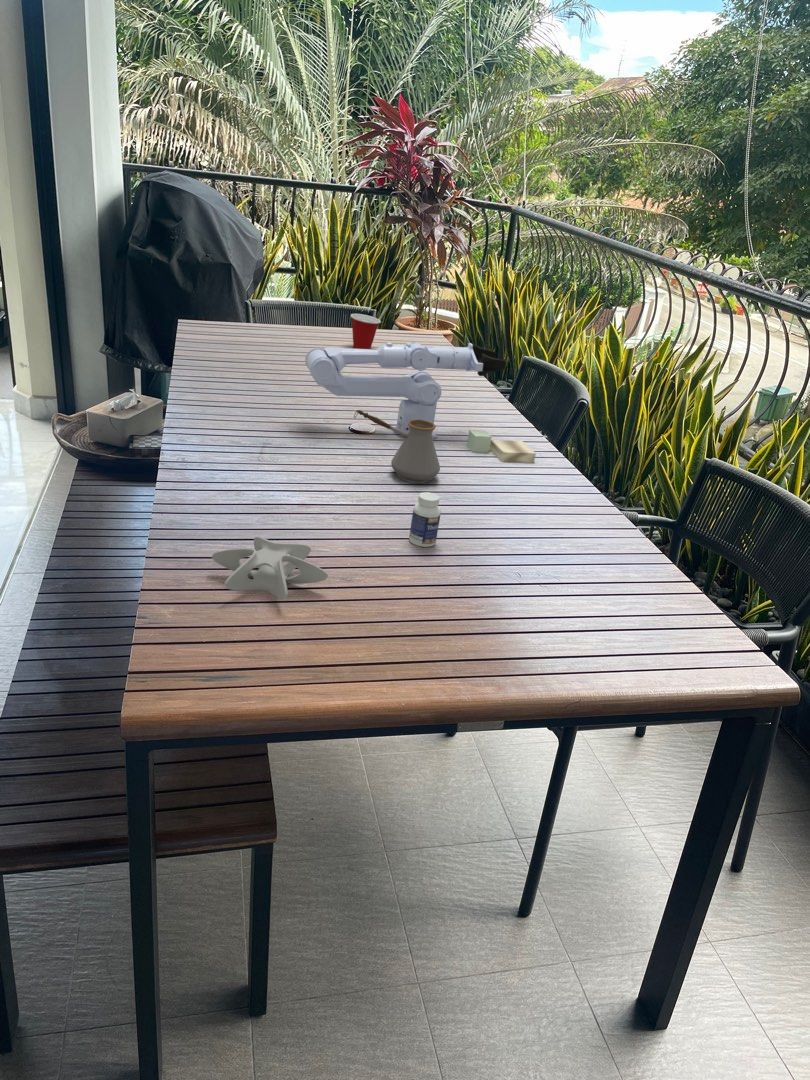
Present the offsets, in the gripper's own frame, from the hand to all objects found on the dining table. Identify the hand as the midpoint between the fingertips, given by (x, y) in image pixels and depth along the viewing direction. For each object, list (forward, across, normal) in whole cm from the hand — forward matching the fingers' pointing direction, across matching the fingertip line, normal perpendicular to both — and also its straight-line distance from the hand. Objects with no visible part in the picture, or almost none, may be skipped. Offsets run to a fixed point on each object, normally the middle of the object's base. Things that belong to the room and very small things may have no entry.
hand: (500, 360), depth 221 cm
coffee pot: (-34, -31, +20) cm, 50 cm away
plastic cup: (-18, +85, +24) cm, 90 cm away
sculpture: (-68, -81, +17) cm, 107 cm away
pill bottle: (-36, -65, +18) cm, 77 cm away
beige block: (+2, -15, +21) cm, 26 cm away
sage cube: (-7, -11, +21) cm, 25 cm away
